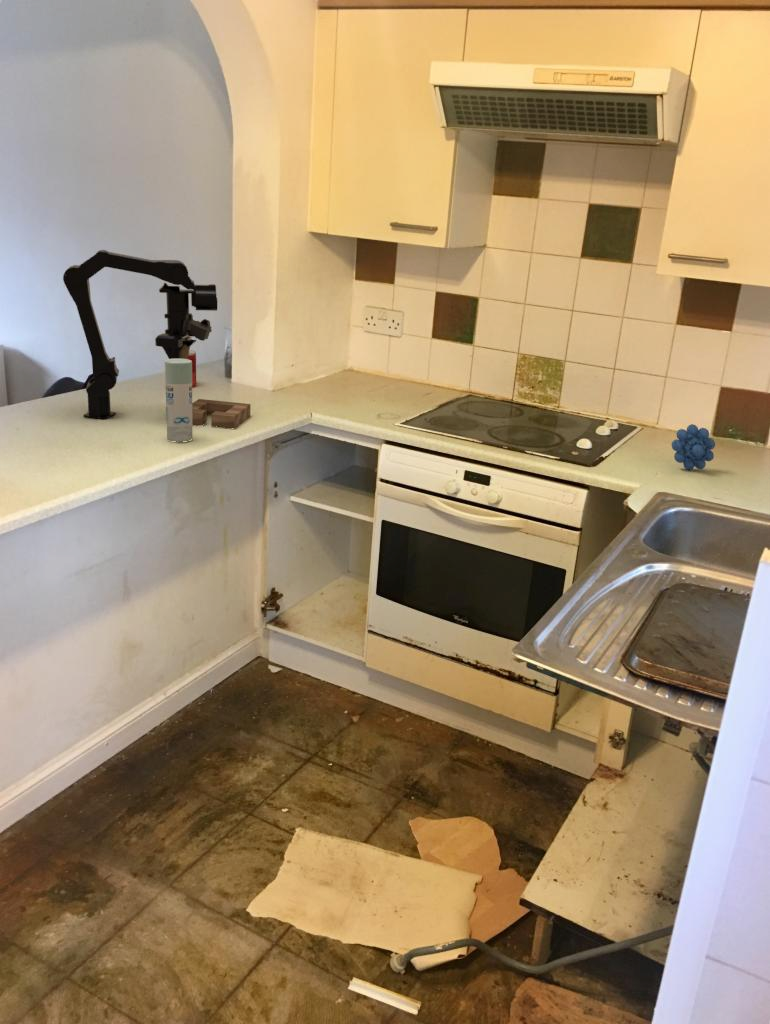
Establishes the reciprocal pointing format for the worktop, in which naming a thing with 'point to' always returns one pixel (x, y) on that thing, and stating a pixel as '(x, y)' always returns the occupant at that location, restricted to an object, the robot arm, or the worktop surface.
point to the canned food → (193, 365)
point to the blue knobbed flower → (693, 447)
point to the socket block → (220, 413)
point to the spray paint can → (178, 399)
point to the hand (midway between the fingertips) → (179, 368)
